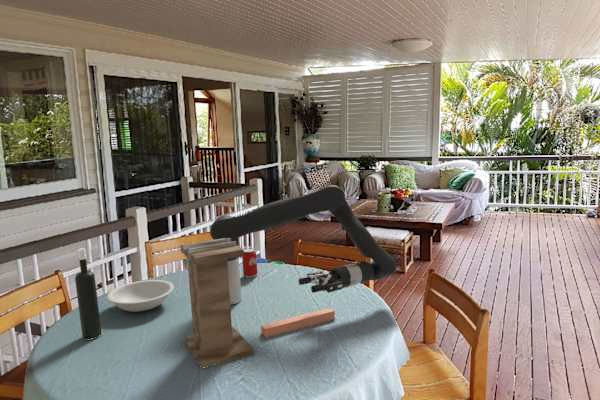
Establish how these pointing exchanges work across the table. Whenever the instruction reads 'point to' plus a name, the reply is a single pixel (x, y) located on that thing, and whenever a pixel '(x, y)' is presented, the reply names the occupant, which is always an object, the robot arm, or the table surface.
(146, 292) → the soup bowl
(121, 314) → the table surface
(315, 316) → the stick
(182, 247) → the wooden pedestal
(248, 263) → the beverage can
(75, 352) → the table surface
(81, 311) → the wine bottle
